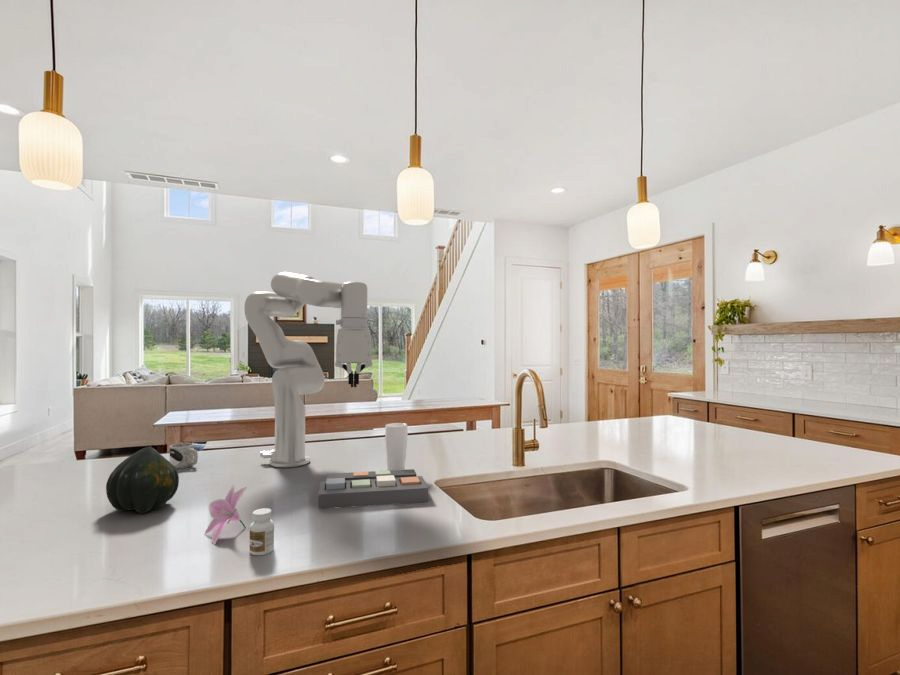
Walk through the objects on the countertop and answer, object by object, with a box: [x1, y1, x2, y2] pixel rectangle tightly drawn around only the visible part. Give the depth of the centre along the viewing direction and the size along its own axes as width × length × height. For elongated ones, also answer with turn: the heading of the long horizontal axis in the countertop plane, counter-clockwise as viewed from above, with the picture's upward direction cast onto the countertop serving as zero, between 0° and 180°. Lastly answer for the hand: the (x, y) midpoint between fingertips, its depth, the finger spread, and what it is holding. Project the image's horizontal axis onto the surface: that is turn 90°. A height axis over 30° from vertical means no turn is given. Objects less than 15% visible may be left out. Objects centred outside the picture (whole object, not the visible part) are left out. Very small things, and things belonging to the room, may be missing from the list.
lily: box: [204, 484, 248, 546], centre depth 101 cm, size 12×12×10 cm
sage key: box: [352, 479, 370, 488], centre depth 123 cm, size 5×5×2 cm
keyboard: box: [317, 468, 429, 510], centre depth 125 cm, size 27×16×4 cm, turn 102°
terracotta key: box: [400, 477, 420, 485], centre depth 126 cm, size 5×5×2 cm
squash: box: [105, 446, 180, 514], centre depth 115 cm, size 14×15×15 cm
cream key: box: [376, 475, 396, 487], centre depth 124 cm, size 5×5×2 cm
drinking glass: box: [384, 422, 409, 471], centre depth 145 cm, size 7×7×15 cm
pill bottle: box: [249, 507, 275, 556], centre depth 92 cm, size 4×4×8 cm
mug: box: [169, 442, 199, 470], centre depth 151 cm, size 10×7×7 cm
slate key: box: [325, 478, 345, 490], centre depth 121 cm, size 5×5×2 cm
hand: (353, 386), depth 139 cm, fingers closed
